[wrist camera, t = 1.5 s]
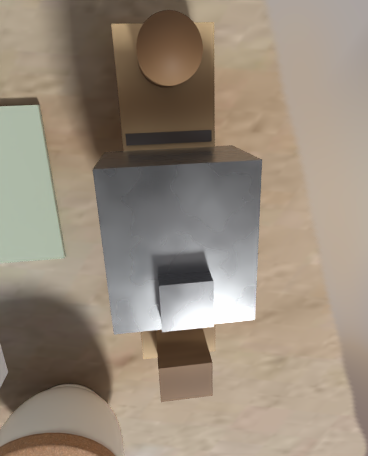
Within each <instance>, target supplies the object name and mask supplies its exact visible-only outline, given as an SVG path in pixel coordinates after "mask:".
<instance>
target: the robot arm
mask: <svg viewBox="0 0 368 456" xmlns="http://www.w3.org/2000/svg"><path fill="white" fill-rule="evenodd" d="M7 373H8V370H7V366H6V363H5V359H4V355H3V352H2V348H1V344H0V387H1V385H2V383H3V381H4V379H5V377H6V375H7Z"/></svg>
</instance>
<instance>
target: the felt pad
mask: <svg viewBox="0 0 368 456" xmlns="http://www.w3.org/2000/svg"><path fill="white" fill-rule="evenodd" d="M65 256H66V255H65V249H64V243H63V238H62V232H61V226H60V220H59V214H58V209H57V203H56V197H55V191H54V185H53V179H52V174H51V168H50V162H49V156H48V150H47V144H46V139H45V133H44V127H43V121H42V115H41V110H40V105H22V106H0V263H11V262H23V261H36V260H48V259H60V258H65Z"/></svg>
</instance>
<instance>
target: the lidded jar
mask: <svg viewBox="0 0 368 456" xmlns="http://www.w3.org/2000/svg"><path fill="white" fill-rule="evenodd" d="M0 456H124V445H123V437H122V432H121V428H120V425H119V422H118V419H117V417H116V415H115V413H114V412H113V410H112V409H111V407H110V406H109V405H108V404H107V402H106V401H105V400H103V399H102V398H101V397H100V396H98V395H97V393H95V392H94V391H93V390H91V389H90V388H88V387H85V386H82V385H78V384H62V385H57V386H54V387H52V388H50V389H48V390H46V391H43V392H40V393H38V394H36V395H34V396H33V397H31V398H30V399H28V400H27V401H25V402H24V403H23V404H21V405H20V406H19V407H18V408H17V409H16V410H15V411H14V412H13V413H12V414H11V415H10V416H9V418H8V419H7V420H6V422H5V423H4V424H3V426H2V427H1V429H0Z"/></svg>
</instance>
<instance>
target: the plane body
mask: <svg viewBox="0 0 368 456" xmlns="http://www.w3.org/2000/svg"><path fill="white" fill-rule="evenodd" d="M111 26H112V37H113V47H114V58H115V68H116V79H117V89H118V100H119V110H120V121H121V131H122V142H123V151H136V150H155V149H174V148H194V147H213V146H215V131H214V22H202V23H194V22H193V21H192V20H191V19H190V18H189V17H187V16H186V15H184V14H182V13H180V12H177V11H173V10H165V11H160V12H157V13H155V14H153V15H152V16H150V17H149V18H148V19H147V20H146V21H145V22H144V23H134V24H111ZM141 340H142V351H143V359H151V358H158V368H159V381H160V394H161V402H165V401H173V400H181V399H189V398H197V397H205V396H213V387H212V360H211V356H210V352H213V351H215V324H214V327H206V328H197V329H187V330H178V331H168V332H162V330H152V331H143V332H141Z"/></svg>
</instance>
